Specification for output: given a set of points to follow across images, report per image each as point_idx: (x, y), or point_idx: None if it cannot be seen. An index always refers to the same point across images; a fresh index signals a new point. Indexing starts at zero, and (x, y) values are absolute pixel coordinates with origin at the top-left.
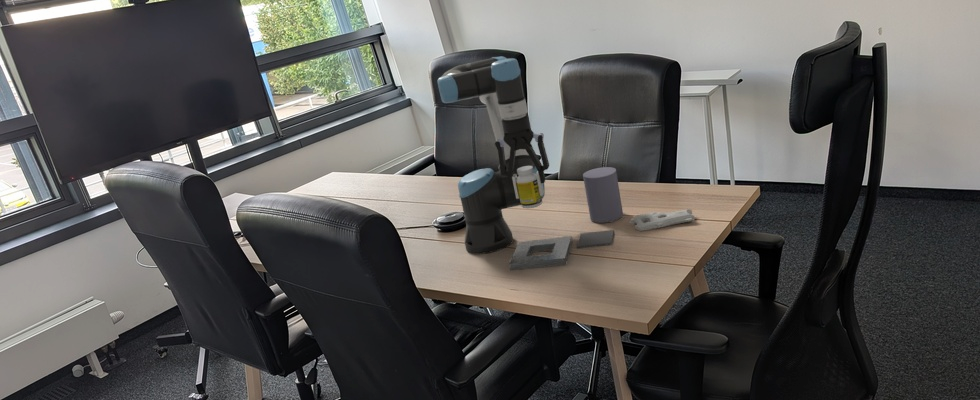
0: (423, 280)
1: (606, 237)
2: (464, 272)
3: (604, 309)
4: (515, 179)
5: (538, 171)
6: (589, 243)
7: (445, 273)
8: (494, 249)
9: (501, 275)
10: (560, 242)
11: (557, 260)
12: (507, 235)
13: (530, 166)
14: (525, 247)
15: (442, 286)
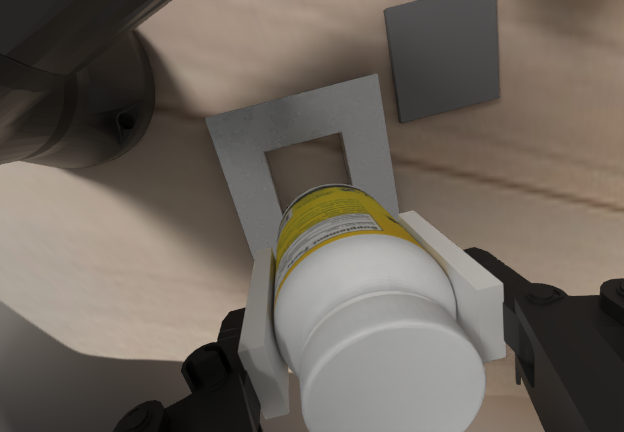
0: (39, 325)
1: (479, 53)
2: (129, 278)
3: (511, 382)
4: (285, 376)
5: (520, 366)
6: (434, 101)
7: (73, 287)
8: (130, 147)
9: (248, 286)
10: (356, 126)
11: None
12: (137, 85)
13: (448, 353)
14: (252, 163)
15: (124, 346)
